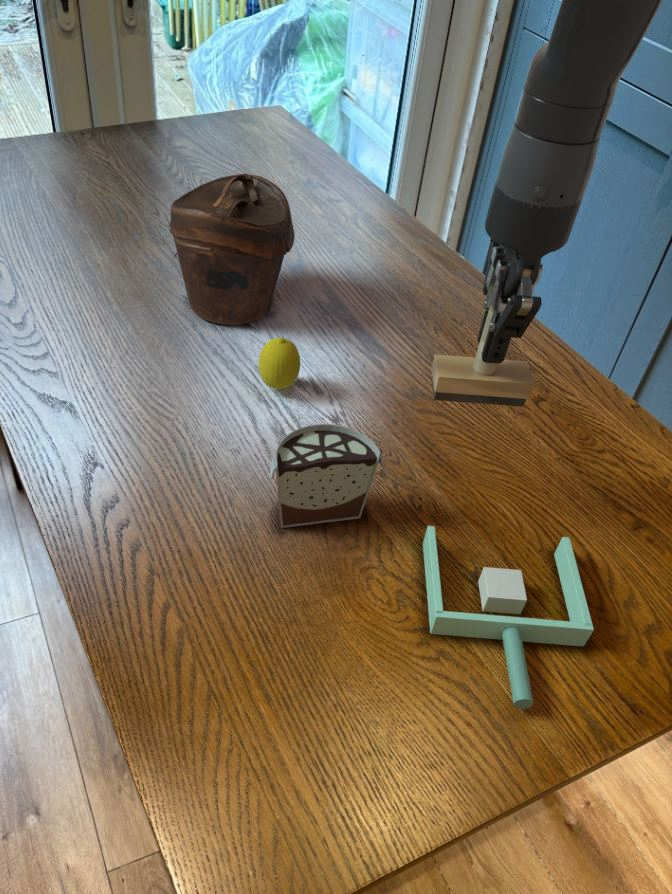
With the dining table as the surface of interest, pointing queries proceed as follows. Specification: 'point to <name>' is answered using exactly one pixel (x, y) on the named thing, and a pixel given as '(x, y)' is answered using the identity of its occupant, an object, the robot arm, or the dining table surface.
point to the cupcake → (323, 474)
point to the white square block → (502, 590)
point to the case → (232, 246)
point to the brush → (481, 378)
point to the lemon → (279, 363)
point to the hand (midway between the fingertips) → (489, 351)
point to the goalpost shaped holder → (512, 618)
